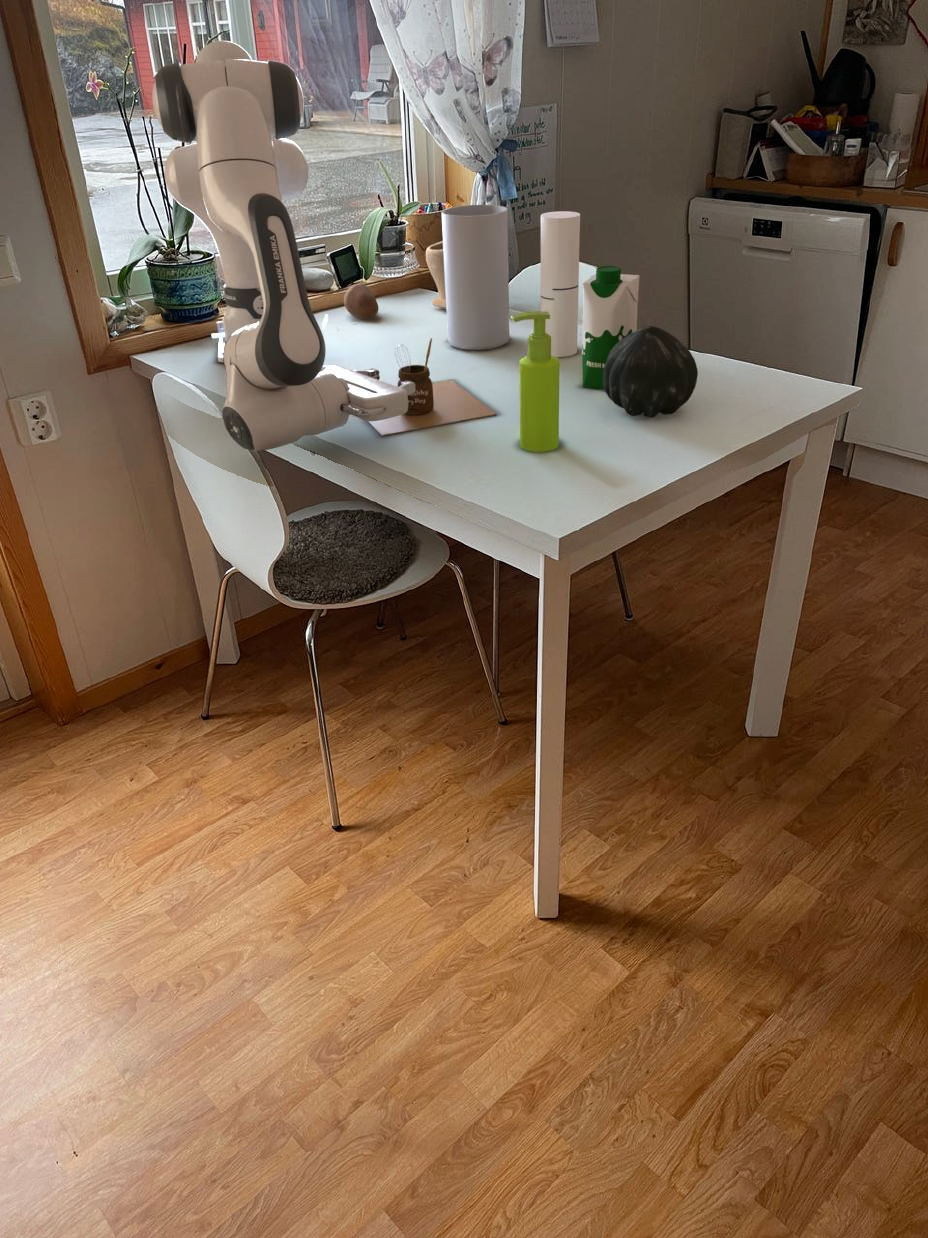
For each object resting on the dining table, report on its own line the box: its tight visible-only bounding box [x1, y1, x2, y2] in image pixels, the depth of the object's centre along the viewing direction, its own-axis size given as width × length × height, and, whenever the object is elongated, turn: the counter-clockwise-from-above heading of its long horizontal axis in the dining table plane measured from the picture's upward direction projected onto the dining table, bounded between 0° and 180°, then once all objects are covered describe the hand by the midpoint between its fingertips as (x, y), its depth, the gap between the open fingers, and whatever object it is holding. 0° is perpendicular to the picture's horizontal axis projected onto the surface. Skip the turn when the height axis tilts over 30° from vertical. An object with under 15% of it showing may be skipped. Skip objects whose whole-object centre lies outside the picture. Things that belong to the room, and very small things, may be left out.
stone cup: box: [425, 240, 446, 310], centre depth 213 cm, size 15×12×15 cm
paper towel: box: [367, 379, 497, 437], centre depth 164 cm, size 20×20×1 cm
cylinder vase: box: [441, 204, 510, 351], centre depth 188 cm, size 12×12×25 cm
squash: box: [603, 325, 699, 419], centre depth 155 cm, size 14×15×15 cm
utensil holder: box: [394, 337, 434, 415], centre depth 159 cm, size 6×6×12 cm
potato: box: [343, 283, 379, 320], centre depth 214 cm, size 7×10×7 cm
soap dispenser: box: [510, 310, 561, 453], centre depth 142 cm, size 6×7×20 cm
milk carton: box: [581, 265, 641, 390], centre depth 165 cm, size 9×9×20 cm
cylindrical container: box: [540, 210, 581, 358], centre depth 181 cm, size 7×7×25 cm
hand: (394, 379), depth 156 cm, fingers open, 8 cm apart
